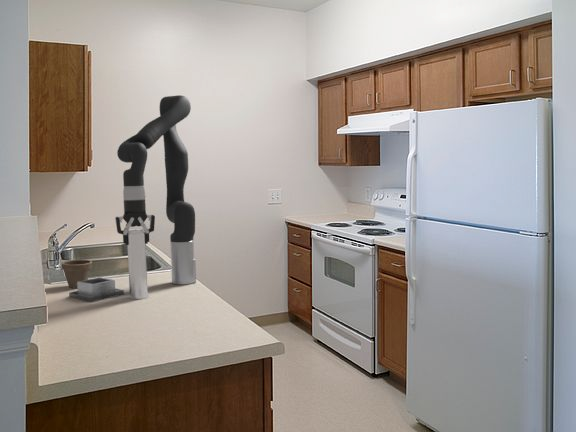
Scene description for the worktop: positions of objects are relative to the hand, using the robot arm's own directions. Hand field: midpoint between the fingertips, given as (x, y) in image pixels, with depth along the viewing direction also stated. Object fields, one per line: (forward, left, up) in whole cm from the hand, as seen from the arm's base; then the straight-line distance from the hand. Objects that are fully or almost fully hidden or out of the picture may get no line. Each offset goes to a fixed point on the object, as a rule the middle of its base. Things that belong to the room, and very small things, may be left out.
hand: (136, 244), depth 195 cm
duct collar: (+14, -10, -20) cm, 26 cm away
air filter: (0, 0, -20) cm, 20 cm away
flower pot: (+20, -29, -20) cm, 40 cm away
